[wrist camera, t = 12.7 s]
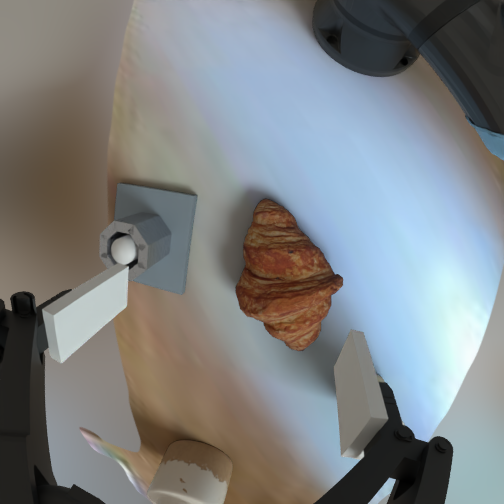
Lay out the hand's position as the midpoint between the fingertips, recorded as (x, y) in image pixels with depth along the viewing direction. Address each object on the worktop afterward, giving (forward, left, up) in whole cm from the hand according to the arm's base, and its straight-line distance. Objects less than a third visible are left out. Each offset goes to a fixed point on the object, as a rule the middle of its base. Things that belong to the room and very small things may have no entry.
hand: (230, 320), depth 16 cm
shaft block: (+4, -16, -23) cm, 29 cm away
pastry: (+5, +3, -24) cm, 25 cm away
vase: (+53, -4, -24) cm, 58 cm away
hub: (+4, -16, -22) cm, 28 cm away
